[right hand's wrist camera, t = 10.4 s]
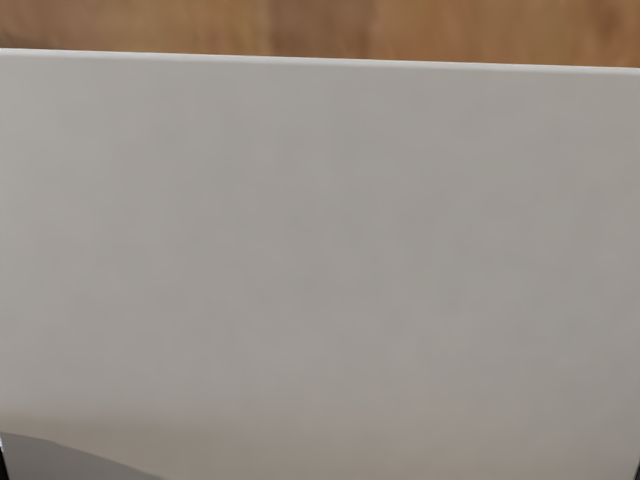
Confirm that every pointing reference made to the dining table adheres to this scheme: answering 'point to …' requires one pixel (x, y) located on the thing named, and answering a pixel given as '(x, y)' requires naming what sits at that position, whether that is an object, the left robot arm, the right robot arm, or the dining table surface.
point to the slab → (317, 268)
